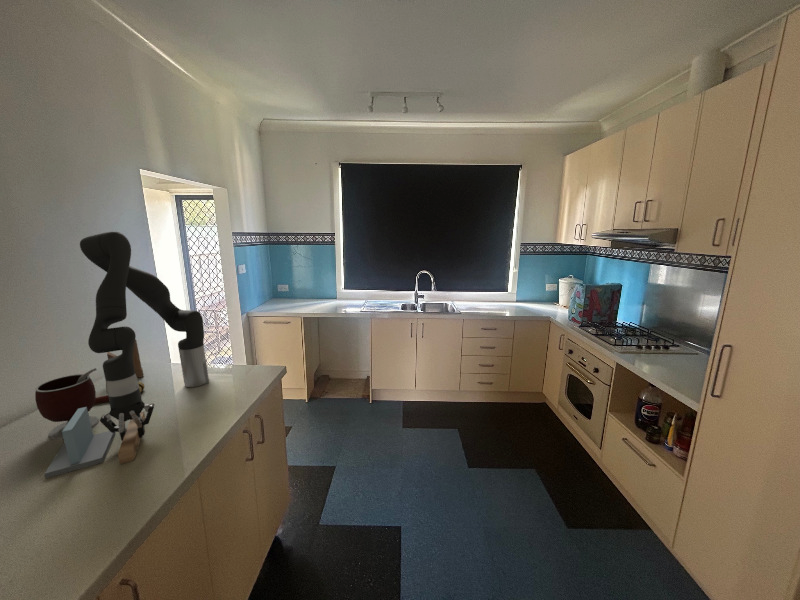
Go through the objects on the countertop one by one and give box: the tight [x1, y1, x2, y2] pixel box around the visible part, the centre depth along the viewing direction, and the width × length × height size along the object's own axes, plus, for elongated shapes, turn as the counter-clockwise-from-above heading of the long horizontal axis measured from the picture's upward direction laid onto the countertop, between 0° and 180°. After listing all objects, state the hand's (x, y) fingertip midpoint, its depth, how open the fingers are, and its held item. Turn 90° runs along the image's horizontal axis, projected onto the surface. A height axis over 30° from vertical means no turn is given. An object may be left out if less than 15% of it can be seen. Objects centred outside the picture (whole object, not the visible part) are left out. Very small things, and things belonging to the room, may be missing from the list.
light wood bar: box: [117, 411, 146, 465], centre depth 104 cm, size 24×3×4 cm, turn 31°
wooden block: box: [106, 339, 144, 379], centre depth 146 cm, size 4×11×18 cm, turn 128°
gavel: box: [93, 381, 146, 406], centre depth 129 cm, size 21×5×10 cm
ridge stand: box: [43, 407, 116, 479], centre depth 97 cm, size 12×16×12 cm
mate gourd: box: [34, 367, 100, 440], centre depth 109 cm, size 16×14×20 cm
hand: (133, 438), depth 104 cm, fingers closed on light wood bar, 3 cm apart
